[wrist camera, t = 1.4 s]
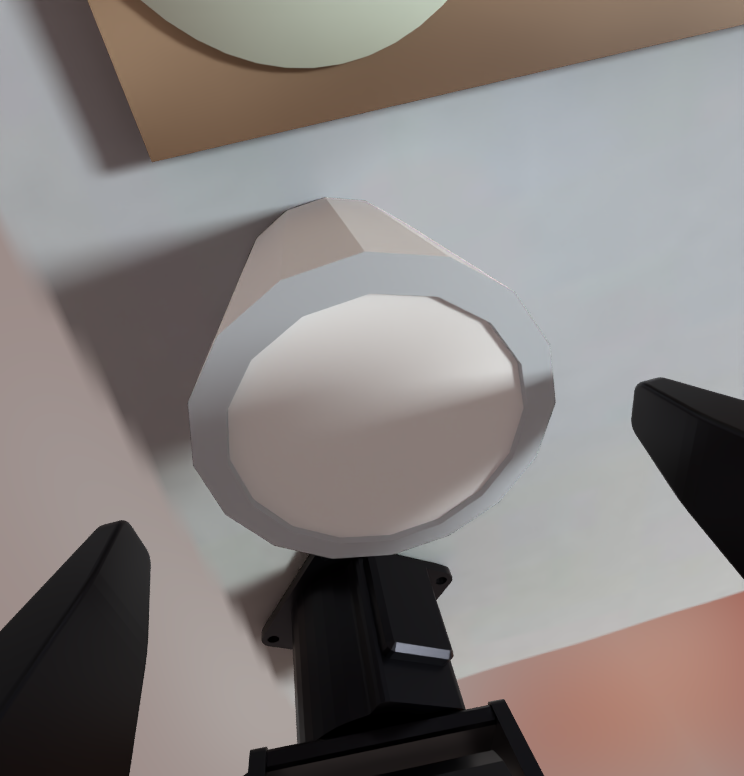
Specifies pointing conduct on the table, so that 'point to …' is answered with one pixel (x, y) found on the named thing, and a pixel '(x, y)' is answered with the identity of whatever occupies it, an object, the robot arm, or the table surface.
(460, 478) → the shot glass
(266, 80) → the gear board
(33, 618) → the robot arm
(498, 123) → the table surface
